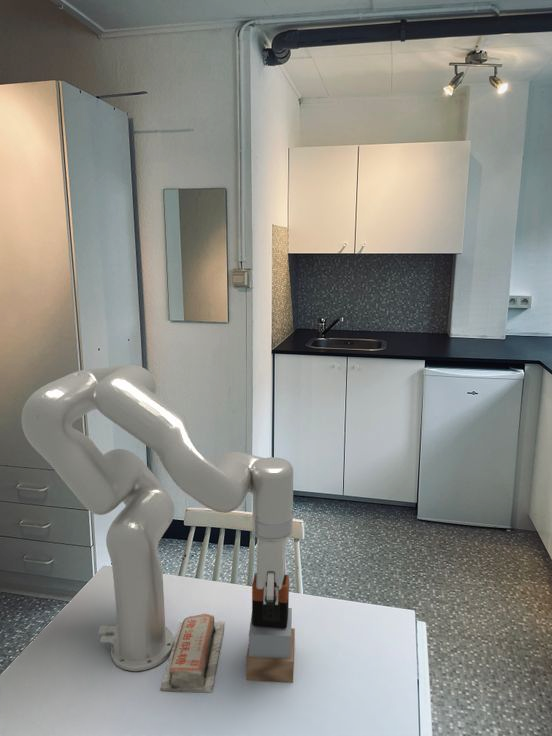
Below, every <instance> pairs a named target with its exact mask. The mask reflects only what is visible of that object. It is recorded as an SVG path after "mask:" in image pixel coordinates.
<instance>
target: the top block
mask: <svg viewBox="0 0 552 736" xmlns="http://www.w3.org/2000/svg"><path fill="white" fill-rule="evenodd" d="M292 609H293V608H292V607H288V621H287V627H286V628H273V627H260V626H253V625H252V614H251V617H250V624H249V630H248V644H249V657H265V658H288V659H291V630H292V623H293V621H292V617H293V614H292V613H293V610H292Z"/></svg>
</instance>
